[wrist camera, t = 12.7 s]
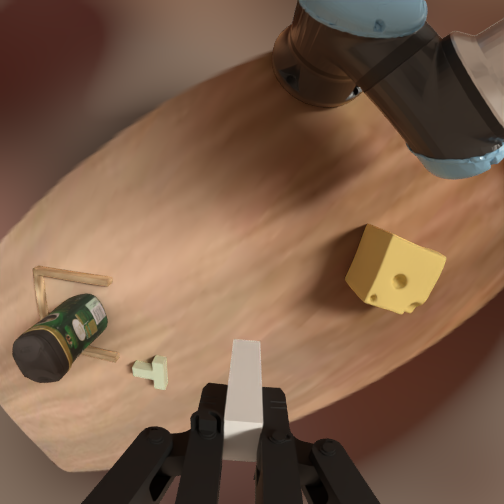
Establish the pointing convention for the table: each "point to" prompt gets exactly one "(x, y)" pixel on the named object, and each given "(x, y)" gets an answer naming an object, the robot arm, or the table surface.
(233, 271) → the table surface
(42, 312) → the oak frame
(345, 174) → the table surface
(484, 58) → the robot arm
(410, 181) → the table surface
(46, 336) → the coffee jar
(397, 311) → the cheese
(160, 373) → the sage T block
